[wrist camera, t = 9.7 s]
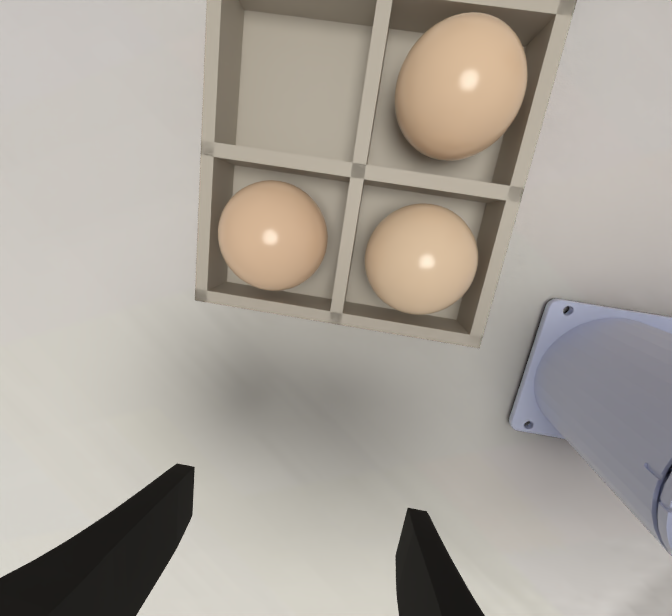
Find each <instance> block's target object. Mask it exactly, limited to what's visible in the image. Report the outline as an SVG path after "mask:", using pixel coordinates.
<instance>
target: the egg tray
mask: <svg viewBox="0 0 672 616" xmlns="http://www.w3.org/2000/svg"><path fill="white" fill-rule="evenodd" d="M576 2H577V0H207V8H206V33H205V58H204V83H203V108H202V133H201V158H200V183H199V208H198V233H197V258H196V283H195V300H196V301H202V302H208V303H214V304H220V305H226V306H232V307H238V308H244V309H249V310H255V311H261V312H267V313H273V314H279V315H285V316H291V317H297V318H303V319H309V320H314V321H320V322H326V323H332V324H338V325H344V326H350V327H356V328H362V329H368V330H374V331H379V332H385V333H391V334H397V335H403V336H409V337H415V338H421V339H427V340H433V341H439V342H445V343H450V344H456V345H462V346H468V347H474V348H480V344H481V341H482V337H483V334H484V330H485V327H486V323H487V319H488V316H489V312H490V309H491V305H492V302H493V298H494V294H495V291H496V287H497V284H498V280H499V277H500V273H501V269H502V266H503V262H504V259H505V255H506V252H507V248H508V244H509V241H510V237H511V234H512V230H513V227H514V223H515V219H516V216H517V212H518V209H519V205H520V202H521V198H522V194H523V191H524V187H525V184H526V180H527V177H528V173H529V169H530V166H531V162H532V159H533V155H534V152H535V148H536V144H537V141H538V137H539V134H540V130H541V127H542V123H543V119H544V116H545V112H546V109H547V105H548V102H549V98H550V94H551V91H552V87H553V84H554V80H555V77H556V73H557V69H558V66H559V62H560V59H561V55H562V52H563V48H564V44H565V41H566V37H567V34H568V30H569V27H570V23H571V19H572V16H573V12H574V9H575V5H576ZM469 12H478V13H485V14H489V15H492V16H494V17H497V18H499V19H500V20H502V21H504V22H505V23H506V24H507V25H508V26H510V27H511V29H512V30H513V31H514V32H515V33H516V35H517V36H518V38H519V39H520V41H521V44H522V46H523V48H524V52H525V55H526V60H527V74H528V76H527V86H526V91H525V95H524V98H523V102H522V104H521V107H520V109H519V111H518V114H517V116H516V117H515V119H514V121H513V122H512V124H511V125H510V126H509V128H508V129H507V130H506V132H505V133H504V134H503V135H502V136H501V137H500V138H499V139H498V140H497V141H496V142H495V143H493V144H492V145H491V146H490V147H488V148H487V149H485V150H484V151H482V152H480V153H478V154H476V155H474V156H471V157H468V158H465V159H461V160H454V161H445V160H438V159H433V158H430V157H428V156H426V155H424V154H422V153H420V152H419V151H417V150H416V149H415V148H414V147H413V146H412V145H411V144H410V143H409V142H408V141H407V139H406V138H405V137H404V135H403V133H402V131H401V129H400V126H399V124H398V121H397V117H396V112H395V88H396V82H397V78H398V74H399V72H400V69H401V66H402V64H403V62H404V60H405V58H406V56H407V54H408V53H409V51H410V49H411V48H412V46H413V45H414V44H415V43H416V42H417V40H418V39H419V38H420V37H421V36H422V35H423V34H424V33H425V32H426V31H427V30H428V29H430V28H431V27H432V26H434V25H435V24H437V23H439V22H440V21H442V20H444V19H446V18H448V17H451V16H453V15H457V14H461V13H469ZM266 180H275V181H282V182H286V183H289V184H292V185H294V186H296V187H298V188H300V189H301V190H303V191H304V192H306V193H307V194H308V195H309V196H310V197H311V198H312V199H313V200H314V201H315V202H316V204H317V205H318V207H319V208H320V210H321V212H322V214H323V216H324V219H325V222H326V226H327V232H328V242H327V249H326V253H325V256H324V259H323V261H322V263H321V265H320V266H319V268H318V269H317V271H316V272H315V273H314V274H313V275H312V276H311V277H310V278H309V279H308V280H306V281H305V282H303V283H302V284H300V285H298V286H296V287H293V288H290V289H286V290H279V291H270V290H263V289H259V288H256V287H254V286H251V285H250V284H248V283H246V282H244V281H243V280H241V279H240V278H239V277H238V276H236V275H235V274H234V273H233V271H232V270H231V269H230V268H229V266H228V265H227V264H226V262H225V260H224V258H223V256H222V253H221V251H220V247H219V242H218V225H219V220H220V216H221V214H222V211H223V209H224V208H225V206H226V204H227V203H228V201H229V200H230V199H231V198H232V197H233V196H234V195H235V194H236V193H237V192H238V191H239V190H241V189H242V188H244V187H246V186H248V185H250V184H253V183H256V182H259V181H266ZM421 203H426V204H434V205H439V206H442V207H444V208H447V209H449V210H451V211H453V212H454V213H456V214H457V215H458V216H460V217H461V218H462V219H463V220H464V221H465V223H466V224H467V225H468V227H469V228H470V230H471V231H472V233H473V235H474V238H475V240H476V244H477V248H478V265H477V271H476V274H475V277H474V279H473V281H472V283H471V285H470V287H469V288H468V290H467V291H466V293H465V294H464V295H463V296H462V297H461V298H460V299H459V300H458V301H457V302H455V303H454V304H453V305H451V306H449V307H447V308H446V309H443V310H441V311H439V312H435V313H431V314H425V315H414V314H408V313H403V312H401V311H398V310H396V309H394V308H392V307H390V306H389V305H387V304H386V303H384V302H383V301H382V300H381V299H380V298H379V297H378V296H377V295H376V293H375V292H374V290H373V289H372V287H371V285H370V283H369V281H368V278H367V275H366V270H365V251H366V247H367V243H368V241H369V238H370V236H371V234H372V232H373V231H374V229H375V228H376V227H377V225H378V224H379V223H380V222H381V221H382V220H383V219H384V218H385V217H386V216H388V215H389V214H390V213H392V212H394V211H395V210H397V209H399V208H402V207H405V206H408V205H412V204H421Z"/></svg>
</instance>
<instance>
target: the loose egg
mask: <svg viewBox="0 0 672 616" xmlns="http://www.w3.org/2000/svg"><path fill="white" fill-rule="evenodd" d="M527 76H528V74H527V60H526V55H525V52H524V48H523V46H522V44H521V41H520V39H519V38H518V36H517V35H516V33H515V32H514V31H513V30H512V29H511V27H510V26H508V25H507V24H506V23H505V22H504V21H502V20H500V19H499V18H497V17H494V16H492V15H489V14H485V13H478V12H469V13H461V14H457V15H453V16H451V17H448V18H446V19H444V20H442V21H440V22H439V23H437V24H435V25H434V26H432V27H431V28H430V29H428V30H427V31H426V32H425V33H424V34H423V35H422V36H421V37H420V38H419V39H418V40H417V42H416V43H415V44H414V45H413V46H412V48H411V49H410V51H409V53H408V54H407V56H406V58H405V60H404V62H403V64H402V66H401V69H400V72H399V74H398V78H397V82H396V88H395V112H396V117H397V121H398V124H399V126H400V129H401V131H402V133H403V135H404V137H405V138H406V139H407V141H408V142H409V143H410V144H411V145H412V146H413V147H414V148H415V149H416V150H417V151H419V152H420V153H422V154H424V155H426V156H428V157H430V158H433V159H438V160H445V161H454V160H461V159H465V158H468V157H471V156H474V155H476V154H478V153H480V152H482V151H484V150H485V149H487V148H488V147H490V146H491V145H492V144H493V143H495V142H496V141H497V140H498V139H499V138H500V137H501V136H502V135H503V134H504V133H505V132H506V130H507V129H508V128H509V126H510V125H511V124H512V122H513V121H514V119H515V117H516V116H517V114H518V111H519V109H520V107H521V104H522V102H523V98H524V95H525V91H526V86H527Z"/></svg>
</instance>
